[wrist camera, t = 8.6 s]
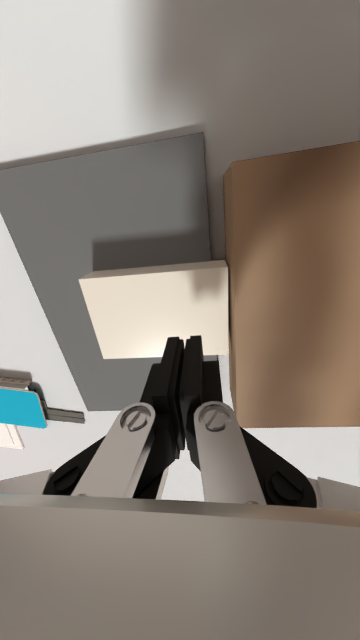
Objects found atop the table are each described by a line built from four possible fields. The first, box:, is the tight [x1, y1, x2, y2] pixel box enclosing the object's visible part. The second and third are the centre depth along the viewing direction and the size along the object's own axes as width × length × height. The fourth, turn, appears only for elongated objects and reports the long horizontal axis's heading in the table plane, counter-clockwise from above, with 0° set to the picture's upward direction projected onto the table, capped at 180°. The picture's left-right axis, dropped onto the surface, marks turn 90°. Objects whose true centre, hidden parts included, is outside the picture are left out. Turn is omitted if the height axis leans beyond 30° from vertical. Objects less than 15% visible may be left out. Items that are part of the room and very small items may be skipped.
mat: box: [0, 132, 217, 411], centre depth 17 cm, size 13×20×1 cm, turn 7°
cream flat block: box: [78, 260, 228, 359], centre depth 15 cm, size 9×6×2 cm, turn 96°
